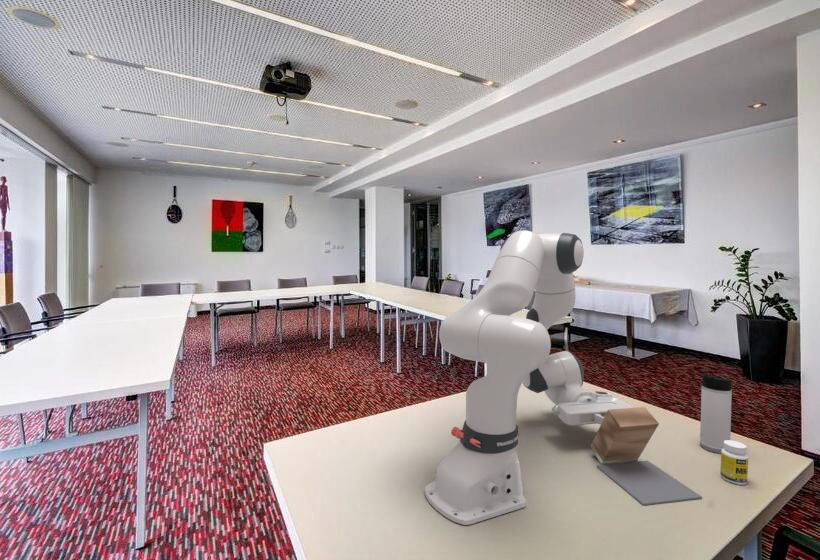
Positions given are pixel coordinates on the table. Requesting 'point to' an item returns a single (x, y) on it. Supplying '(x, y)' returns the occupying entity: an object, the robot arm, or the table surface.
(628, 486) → the mat
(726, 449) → the supplement bottle
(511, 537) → the table surface
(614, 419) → the walnut block
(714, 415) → the travel mug
